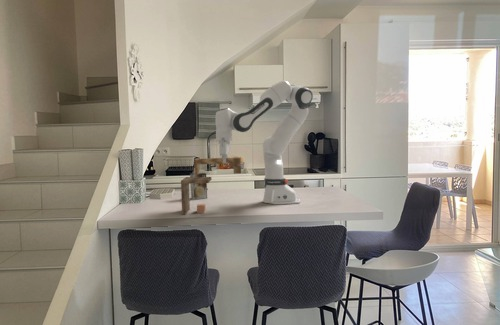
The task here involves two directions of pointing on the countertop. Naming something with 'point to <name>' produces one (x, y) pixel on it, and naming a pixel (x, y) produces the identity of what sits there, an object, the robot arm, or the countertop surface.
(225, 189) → the countertop surface
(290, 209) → the countertop surface
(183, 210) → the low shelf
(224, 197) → the countertop surface
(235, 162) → the wooden bridge block
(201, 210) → the cube
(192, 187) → the coffee box
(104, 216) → the countertop surface
